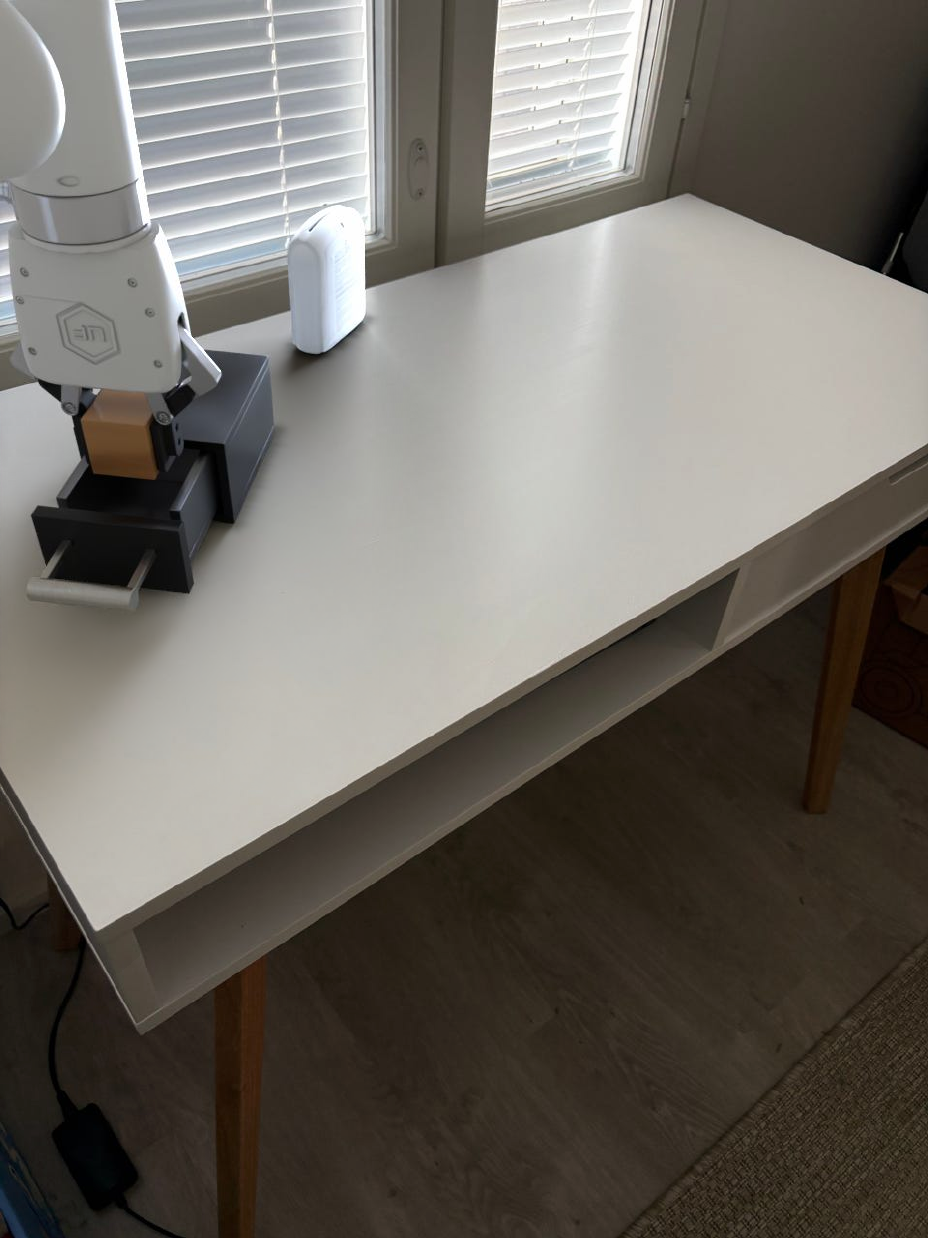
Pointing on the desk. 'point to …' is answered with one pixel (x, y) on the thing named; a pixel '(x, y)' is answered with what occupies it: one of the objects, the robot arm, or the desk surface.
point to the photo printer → (326, 278)
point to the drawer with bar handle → (125, 533)
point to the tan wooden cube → (120, 435)
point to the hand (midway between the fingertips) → (133, 455)
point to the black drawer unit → (231, 424)
